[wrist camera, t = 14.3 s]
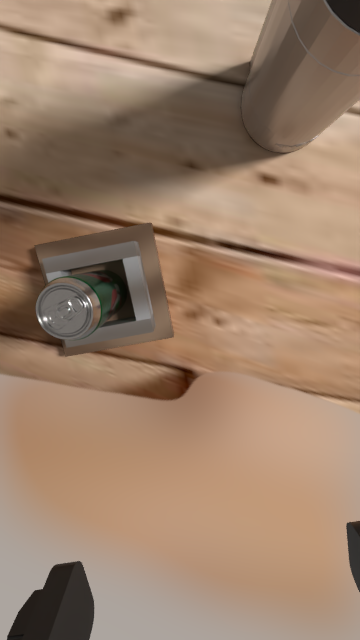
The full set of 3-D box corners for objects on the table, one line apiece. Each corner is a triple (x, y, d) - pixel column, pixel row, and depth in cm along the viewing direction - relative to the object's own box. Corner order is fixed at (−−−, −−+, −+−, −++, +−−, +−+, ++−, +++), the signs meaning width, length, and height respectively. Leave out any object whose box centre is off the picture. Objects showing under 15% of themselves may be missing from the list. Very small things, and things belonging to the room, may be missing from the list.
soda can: (74, 284, 34) (16, 300, 22) (111, 260, 33) (71, 263, 22) (100, 322, 35) (57, 356, 23) (136, 299, 34) (111, 322, 22)
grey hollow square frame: (40, 245, 34) (19, 244, 30) (151, 223, 34) (147, 219, 29) (70, 352, 37) (55, 365, 33) (173, 333, 37) (172, 344, 32)
